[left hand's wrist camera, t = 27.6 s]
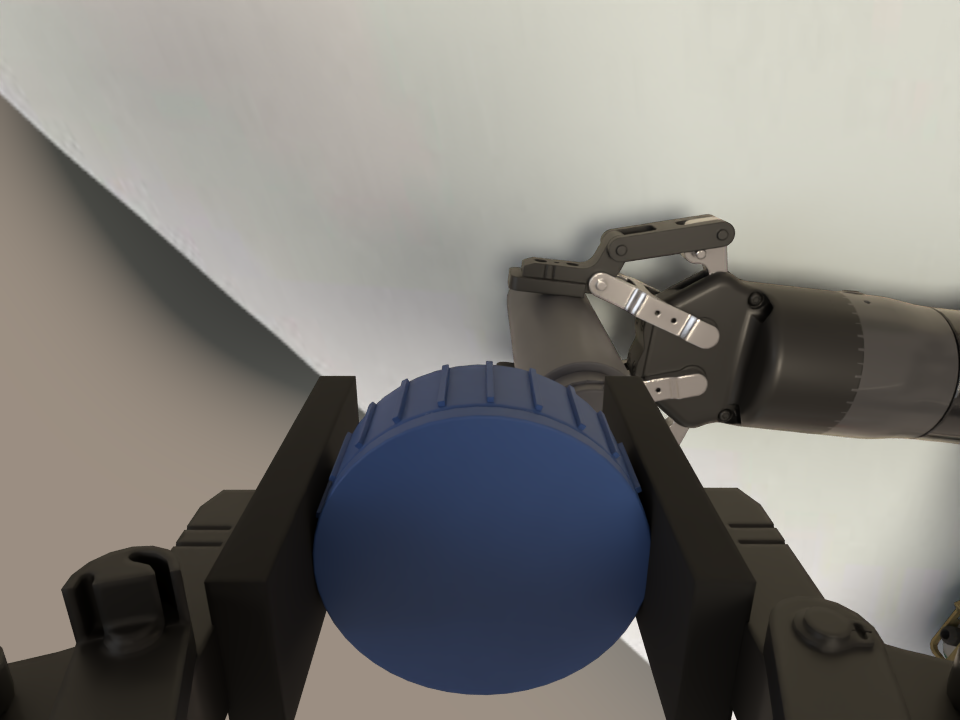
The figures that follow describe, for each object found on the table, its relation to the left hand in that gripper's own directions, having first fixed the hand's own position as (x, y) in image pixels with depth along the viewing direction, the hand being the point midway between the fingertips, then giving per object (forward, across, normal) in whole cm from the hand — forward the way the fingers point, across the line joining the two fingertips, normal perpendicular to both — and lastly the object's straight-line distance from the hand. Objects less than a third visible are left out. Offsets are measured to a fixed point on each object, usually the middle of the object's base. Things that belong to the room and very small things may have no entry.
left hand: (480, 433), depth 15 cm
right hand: (+20, +1, -4) cm, 20 cm away
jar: (+26, +4, -5) cm, 27 cm away
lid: (-4, 0, 0) cm, 4 cm away
